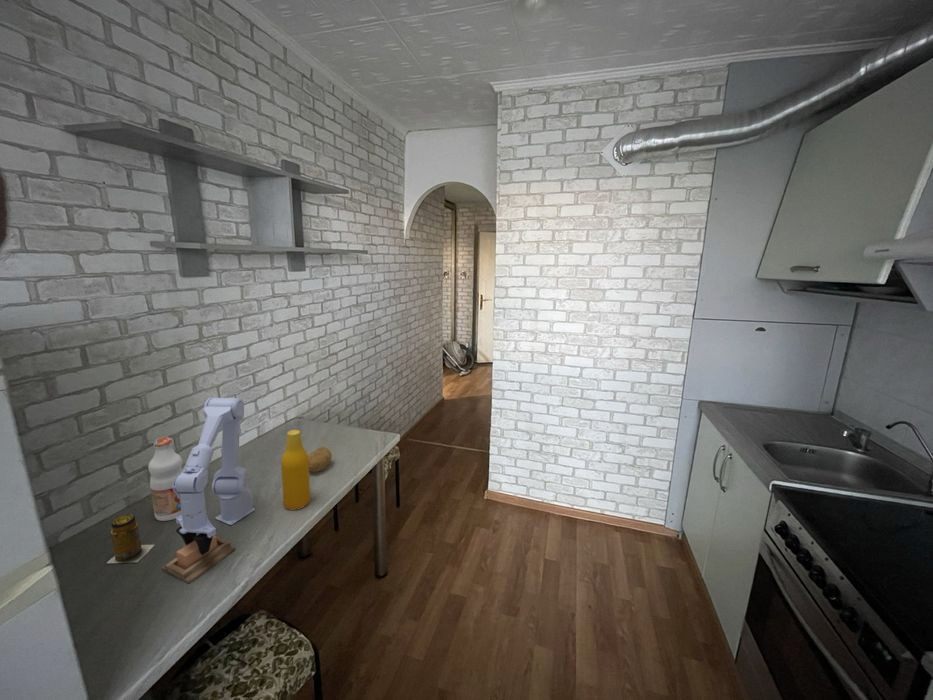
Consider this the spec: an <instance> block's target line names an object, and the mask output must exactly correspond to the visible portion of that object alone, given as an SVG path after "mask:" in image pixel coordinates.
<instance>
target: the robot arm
mask: <svg viewBox="0 0 933 700" xmlns="http://www.w3.org/2000/svg"><path fill="white" fill-rule="evenodd" d="M203 415H204V418H205V421H204V425H203V427H202V431H201V434H200V438H199V441H198V444H197V445H196V446H194V447H192V448H191V450H190V452H189V454H188V457H187V460H186V461H185V465H184V467H183V468H182V470H183V472H182V473H180V474H178V475H177V476H176V478H175V480H174V484H173V491H174V492H175V493H176V494H177V498H179V499H180V504H181V512H182V515H180V516H178V517H176V518H175V522H176V524H177V525H180V527H178V528H177V529H175V532H176V533H177V534H178V535H179V536H180V538H182V539H183V542H184V544H185V546H186V545H188V544H190V543H191V542H193V541H194V540H195V542H196V543H197V545H198V547H199V551H200V553H201V555H204V554H205V553H207V552H208V551H209V549H210V545H211V541H212V538H213V536H214V535H215V536H216V534H217V528H216V527H214V526H213V525H212V523H211V522H210V520H209V519H208V516H207V515H208V514H207V509H206V508H207V507H206V499H205V498H206V497H205V489H206V486H207V484H208V481H209V479H208V475H209V467H210V464H211V461H212V458H213V456H214V453H215V452H214V450H213V448H212V447H213V445H214V442H215V440H216V439H217V436H218V434H219V432H220V431H221V428H222V431H221V432H222V433H221V434H222V435H221V436H222V437H221V438H222V442H221V445H222V446H221V447H222V448H221V468H220V469H219V470H217V471H216V472H215V473H214V474H213V481H212V483H211V491H212V494H214V495H216V497H217V498H219V506H220V507H219V508H220V514H219V515H217V516H216V517H215V518H214V519H215V520H217V521H220V522H222V523H224V524H226V525H229V526H233V525H234V524H236V523H238V521H240V520H242V519H243V518H245V517H247V516H248V515H249V514H251V513H252V512H254V511H255V510H256V509H255V508H254V501H253V499H254V498H253V493H252V491H251V488H249V484H250V478H249V475H248V470H247V469H246V468H244V467H243V466H241V465H240V430H241V429H240V428H241V427H240V426H241V424H240V422H241V420H244V417H245V402H244V401H243V400H242V398H240V397H236V398H235V397H213V396H212V397H209V398H207V400H206V401H205V403H204V405H203Z"/></svg>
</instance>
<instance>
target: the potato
mask: <svg viewBox="0 0 933 700" xmlns="http://www.w3.org/2000/svg"><path fill="white" fill-rule="evenodd" d="M307 455H308V460H309V472H310V471H311V472H312V473H317V472H320V471H323V469H325V468H326V467H327V466H328V465H329V464H330V463H331V461H332V456H333V455H332V452H331V450H330V449H329V448H327V447H325V446H323V447H319V448H317V449H314V450H313V451H312V452H310V453H309V454H307Z"/></svg>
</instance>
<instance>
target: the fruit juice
mask: <svg viewBox="0 0 933 700" xmlns="http://www.w3.org/2000/svg"><path fill="white" fill-rule="evenodd" d="M172 439H173V438H171V437H160V438H157V439H155V440H153V443H152V445H153V448H154V455H153V457H152V458H151V460H149V463H148V467H147V468H148V472H149V474H150V477H149V478H150V479H149V486H150V492H151V499H152V500H151V501H152V506H153V514H154V517H155V519H156V520H157V521H159V522H168V521H172V520H176V517H178V516H180V515H182V512H181V504H180V499H179V498H177V494H176V493H175V492H174V491H173V484H174V480H175V478H176V476H177V475H178V474H180V473H182V472H183V468H182V466H183V458H182V456H181V455H179V454H178V453H177V452H175V450H174V448H173V446H172V444H173V440H172Z"/></svg>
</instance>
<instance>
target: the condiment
mask: <svg viewBox="0 0 933 700" xmlns="http://www.w3.org/2000/svg"><path fill="white" fill-rule="evenodd" d="M110 525H111V532H110V537H111V544H112V547H113V553H114V556H112V557H111V558H110V559H109V560H108V561H107V562H106V564H124V563H125V564H126V563H129V564H130V563H139V562H140V561H141V560H142V559H143V558H144V557H145V556H146V555H147V554H148V553H149V552H150V550H152V548H154V546H155V544H141V537H140V530H139V525H138V522H137V520H136V516H135V515H133V514H126V515H125V514H124V515H121V516H118V517H117V518H115V519H114V520H112V522H111V524H110Z"/></svg>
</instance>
